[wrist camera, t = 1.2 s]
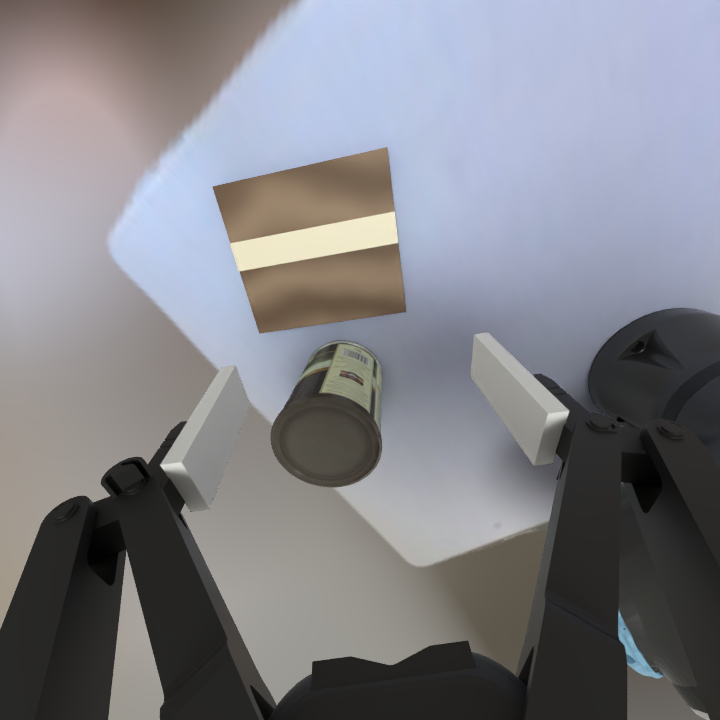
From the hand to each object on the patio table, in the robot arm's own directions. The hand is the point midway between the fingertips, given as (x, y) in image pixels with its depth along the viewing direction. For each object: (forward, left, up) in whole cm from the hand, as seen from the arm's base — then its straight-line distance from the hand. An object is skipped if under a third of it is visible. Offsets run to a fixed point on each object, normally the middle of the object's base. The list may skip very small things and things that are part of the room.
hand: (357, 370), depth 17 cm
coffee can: (-10, +5, -21) cm, 24 cm away
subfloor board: (+6, +5, -21) cm, 22 cm away
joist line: (+7, +5, -19) cm, 21 cm away
